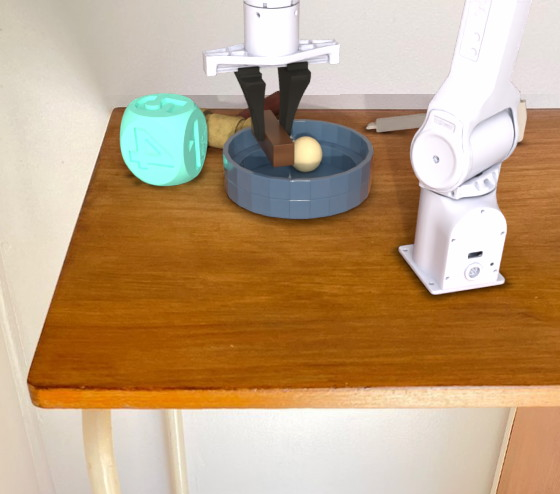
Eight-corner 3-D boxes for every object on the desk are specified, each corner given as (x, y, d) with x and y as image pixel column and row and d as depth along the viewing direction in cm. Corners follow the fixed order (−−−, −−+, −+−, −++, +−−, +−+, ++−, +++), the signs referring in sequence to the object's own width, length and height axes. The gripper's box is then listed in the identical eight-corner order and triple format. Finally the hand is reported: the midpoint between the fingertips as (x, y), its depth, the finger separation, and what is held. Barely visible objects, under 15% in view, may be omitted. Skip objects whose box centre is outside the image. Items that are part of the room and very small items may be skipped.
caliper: (521, 141, 111) (531, 91, 106) (521, 144, 110) (531, 94, 106) (367, 128, 114) (370, 79, 110) (365, 131, 113) (369, 81, 109)
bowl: (391, 213, 97) (395, 169, 93) (244, 232, 93) (243, 188, 90) (343, 152, 108) (345, 112, 105) (211, 168, 105) (208, 127, 102)
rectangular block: (294, 165, 93) (294, 143, 92) (273, 167, 93) (273, 145, 91) (270, 130, 100) (270, 109, 98) (251, 132, 100) (250, 111, 98)
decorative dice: (185, 190, 101) (179, 121, 95) (124, 181, 102) (115, 113, 97) (209, 163, 106) (205, 96, 100) (151, 155, 108) (144, 89, 102)
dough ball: (326, 175, 102) (327, 142, 99) (294, 179, 101) (294, 146, 99) (316, 162, 105) (317, 129, 102) (285, 166, 104) (285, 133, 101)
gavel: (258, 71, 120) (323, 82, 117) (258, 105, 123) (321, 117, 120) (182, 112, 106) (254, 125, 103) (184, 149, 109) (254, 163, 106)
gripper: (327, -16, 90) (322, 116, 100) (193, -5, 87) (201, 129, 97) (349, 3, 85) (342, 139, 95) (207, 15, 82) (215, 154, 92)
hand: (272, 136), depth 95 cm, fingers closed on rectangular block, 2 cm apart
